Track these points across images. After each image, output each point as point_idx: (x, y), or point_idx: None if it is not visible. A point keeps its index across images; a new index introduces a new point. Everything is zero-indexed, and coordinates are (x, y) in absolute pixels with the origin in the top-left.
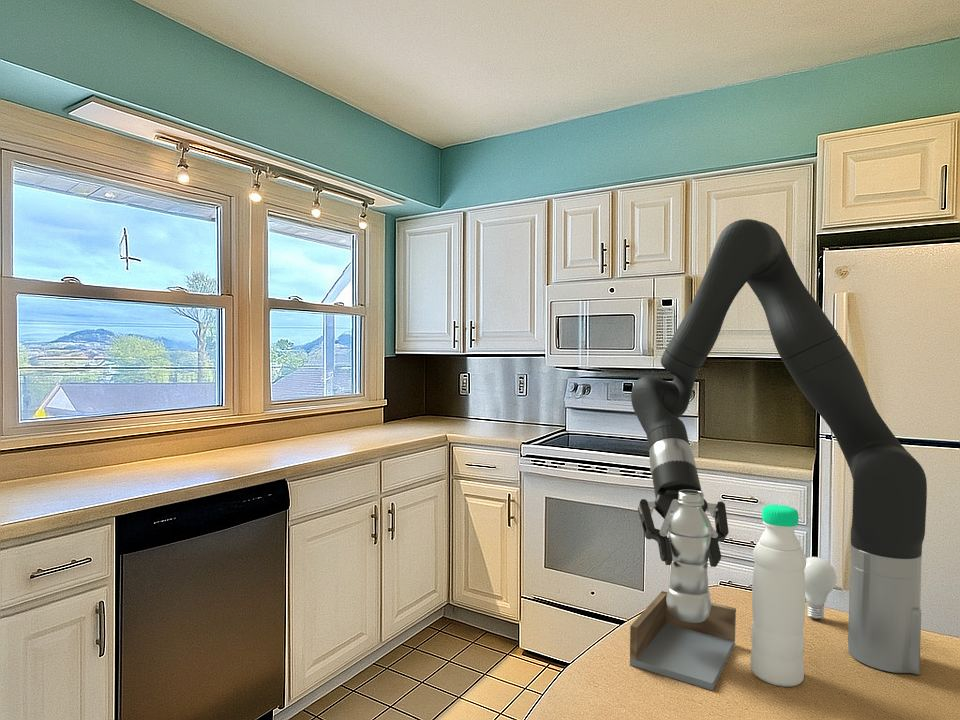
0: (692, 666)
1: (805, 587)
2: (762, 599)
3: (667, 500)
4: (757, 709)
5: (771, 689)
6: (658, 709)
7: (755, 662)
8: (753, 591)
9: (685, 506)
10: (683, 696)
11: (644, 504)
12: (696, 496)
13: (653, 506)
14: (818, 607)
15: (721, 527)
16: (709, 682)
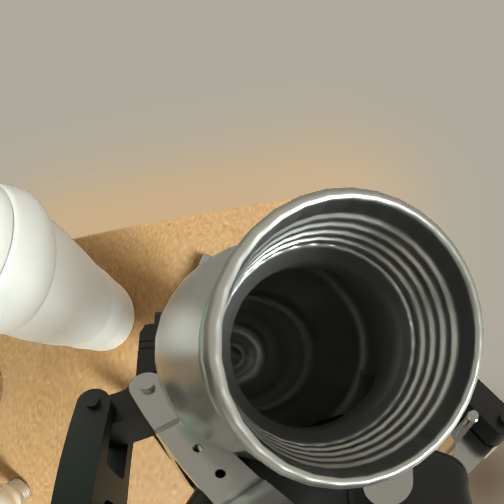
0: None
1: (10, 498)
2: (84, 253)
3: (423, 499)
4: (155, 225)
5: (121, 276)
6: (276, 205)
7: (128, 299)
8: (90, 284)
9: (361, 272)
10: (244, 236)
11: (496, 412)
12: (314, 194)
13: (457, 452)
14: (10, 483)
15: (100, 419)
16: (207, 255)
